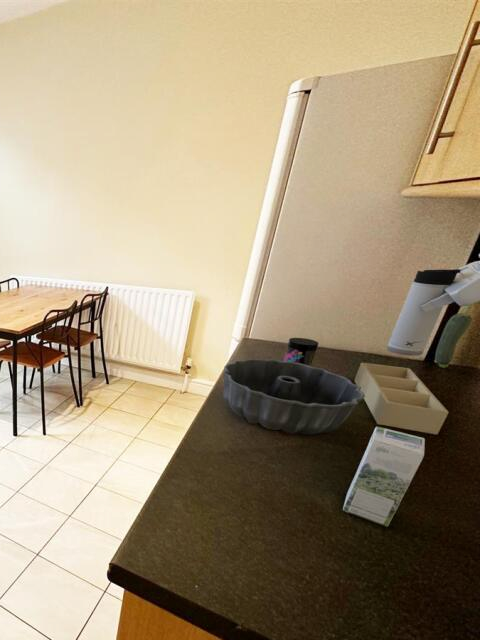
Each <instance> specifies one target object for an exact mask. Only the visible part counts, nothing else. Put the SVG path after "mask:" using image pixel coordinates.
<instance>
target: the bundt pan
mask: <svg viewBox="0 0 480 640" xmlns="http://www.w3.org/2000/svg"><path fill="white" fill-rule="evenodd" d="M223 370H224V371H223V372H222V376H223V377H224V378H223V401H224V402H225V404H226V405H227V406H228V407H229V408H230V409H231V410H232V411H233V412H234V413H235V414H236V415H238V416H239V417H242V418H245V419H246V421H247V422H248V423H249V424H253V425H254V424H259V425H260V426H262V427H264V428H265V429H268V430H272V431H278V430H282V431H283V432H284V433H285V434H287V435H293V434H294V433H298V434H301V435H309V436H310V435H317V434H325V433H326V434H327V433H331V432H334V431H335V430H337V429H338V428H339V427H340V426H341V425H342V424H343V423H344V422H346V420H347V419H348V417H349V416H350V415H351V413H352V411H353V410H354V409H355V407H356V406H358V403H359V402H361V401H363V400H364V397H365V395H364V393H363V392H362V391H360V389H361V387H360V386H358V385H356V383H353V382H352V381H351V380H350V379H349V378H347V377H346V376H343V375H340V374H337V373H333V372H330V371H329V370H327V369H325V368H321V367H320V368H319V367H313V366H312V365H311V366H308V365H305V364H300V363H295V362H283V360H279V359H275V358H272V359H263V358H247V359H244V360H234V361H233V362H232V363H228V364H226V365H224V368H223Z"/></svg>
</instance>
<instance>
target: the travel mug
mask: <svg viewBox="0 0 480 640" xmlns="http://www.w3.org/2000/svg"><path fill="white" fill-rule="evenodd" d="M460 271H461V270H460V269H459V268H455V269H424V270H417V272H416V275H415V277H414V279H413V281H412V284H411V286H410V289H409V291H408V293H407V296H406V299H405V300H404V304H403V306H402V308H401V311H400V313H399V316H398V318H397V321H396V323H395V325H394V328H393V331H392V334H391V336H390V338H389V341H388V343H387V346H386V350H387V351H388V352H390V353H394V354H397V355H401V356H402V355H403V356H411V357H417V356H421V355H423V354H424V351H425V348H426V346H427V343H428V342H429V339H430V338H431V334H432V332H433V331H434V328H435V326H436V324H437V321H438V319H439V317H440V314H441V313H442V311H443V308H444V306H442V307H438V308H435V309H433V310H431V311H429V312H425V311H424V310H423V309H422V308H421V304H423V303H426V302H428V301H431V300H434V299H436V298H438V297H440V296H441V295H443V294H446V293H447V292H446V291H445V290H444V289H445V288H446V287H447V286H449V285H450V284H452V283H453V282H454V281H453V280H455V277H456V275H457V273H460Z"/></svg>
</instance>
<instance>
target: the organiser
mask: <svg viewBox="0 0 480 640" xmlns="http://www.w3.org/2000/svg"><path fill="white" fill-rule="evenodd" d="M354 384H355V385H358V386H360V387H361V389H360V391H362V392H363V393H364V395H365V397H364V399H363V400H364V402H365V403H366V405H367V408H368V409H369V411H370V413H371V414H372V417H373V419H374V421H375V422H376V425H381V426H386V427H393V428H397V429H404V430H409V431H415V432H420V433H424V434H431V435H432V434H433V435H438V434H439V432H440V430H441V428H442V427H443V425H444V422H445V420H446V418H447V417H448V414H449V411H448V410H447V409H446V407H445V406H444V405H443V403H441V402H440V400H438V398H437V397H436V396H435V395H434V394H433V393H432V392H431V390H429V388H428V387H427V386H426V385H425V384H424V383H423V381H422V380H421V379H420V378H419V377H418V376H417V375H416V373H415V372H414V371H413V370H412V369H411V368H410V367H400V366H393V365H384V364H377V363H369V362H360V365H359V367H358V371H357V373H356V375H355V377H354Z"/></svg>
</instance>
